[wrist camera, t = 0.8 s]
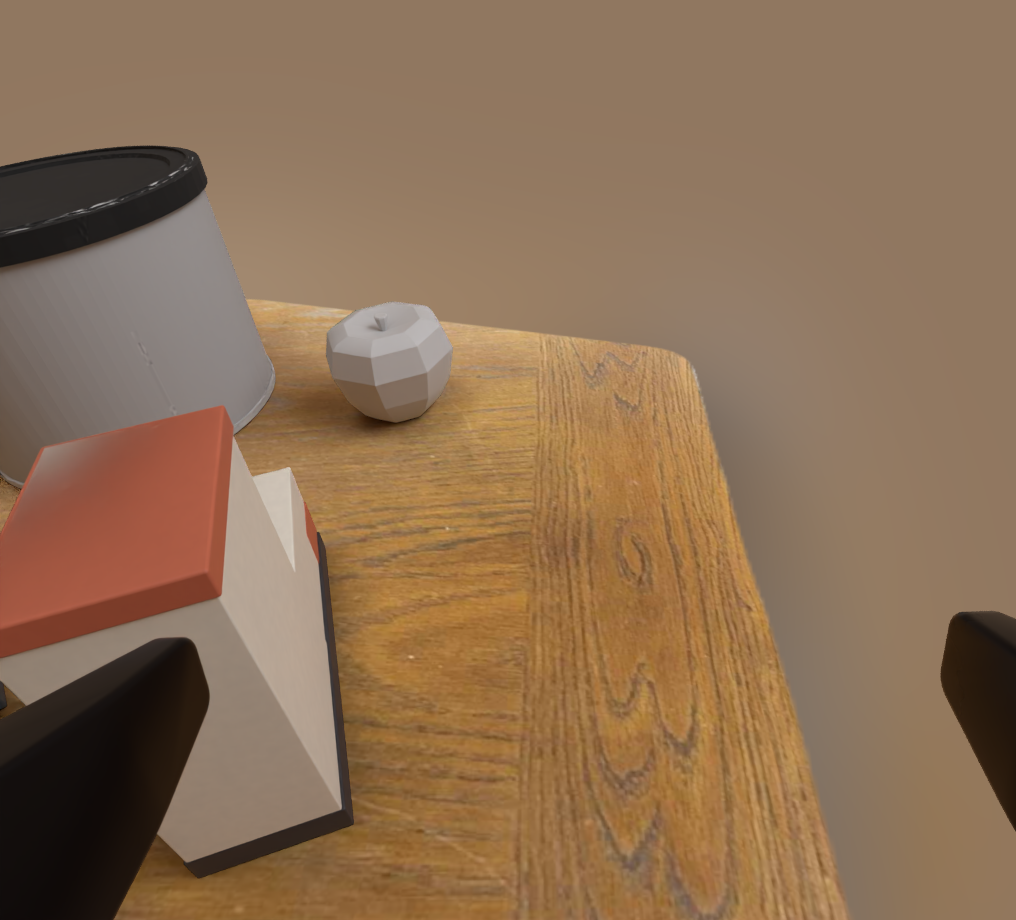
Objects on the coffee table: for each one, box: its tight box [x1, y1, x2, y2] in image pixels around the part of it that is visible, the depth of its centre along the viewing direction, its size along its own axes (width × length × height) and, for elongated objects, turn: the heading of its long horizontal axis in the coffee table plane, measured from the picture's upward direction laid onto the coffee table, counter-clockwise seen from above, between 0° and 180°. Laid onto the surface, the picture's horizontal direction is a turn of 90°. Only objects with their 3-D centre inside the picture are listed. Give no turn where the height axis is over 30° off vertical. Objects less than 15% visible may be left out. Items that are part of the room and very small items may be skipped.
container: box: [0, 146, 275, 489], centre depth 41 cm, size 19×19×15 cm
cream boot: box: [0, 405, 354, 878], centre depth 23 cm, size 14×5×13 cm, turn 17°
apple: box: [326, 302, 453, 423], centre depth 41 cm, size 8×8×7 cm
